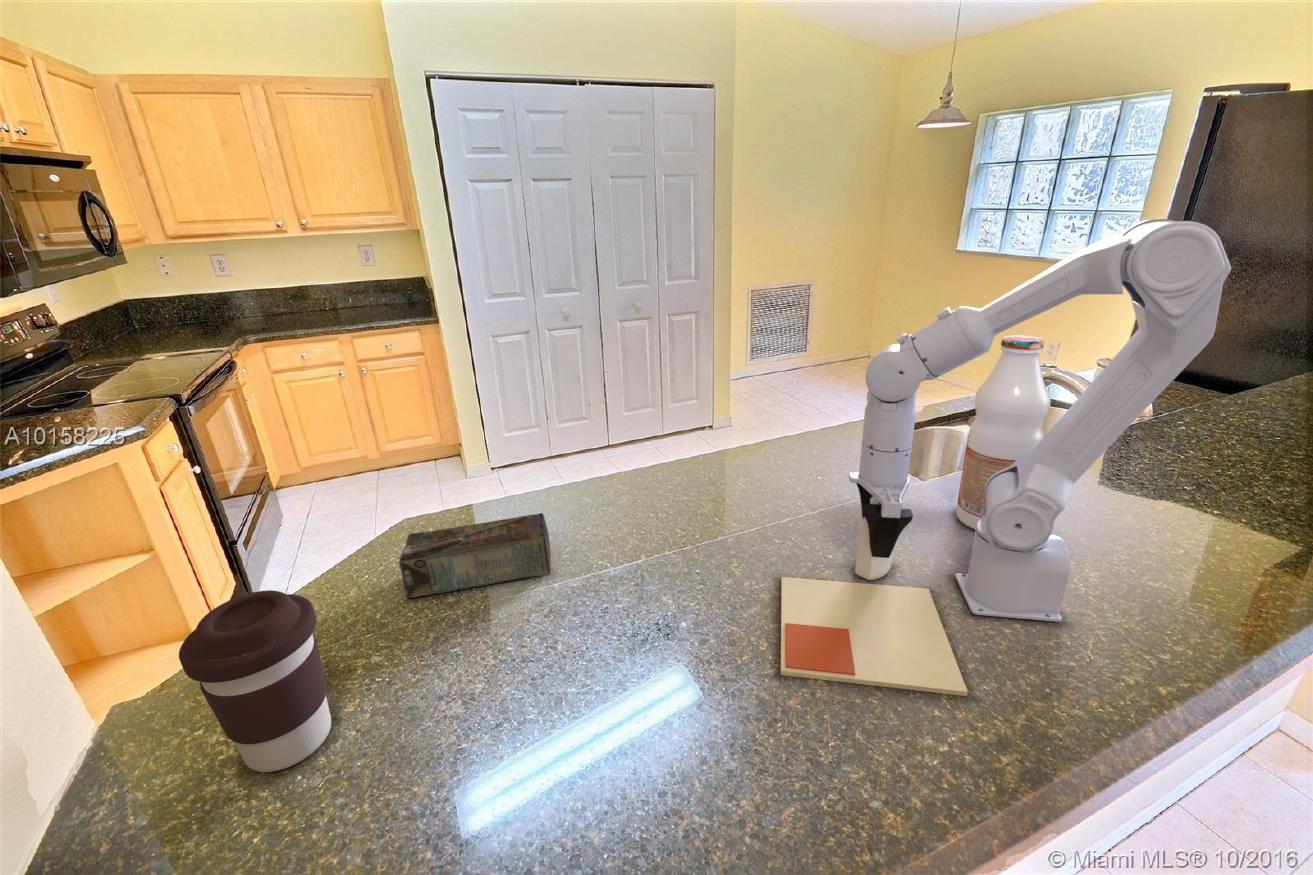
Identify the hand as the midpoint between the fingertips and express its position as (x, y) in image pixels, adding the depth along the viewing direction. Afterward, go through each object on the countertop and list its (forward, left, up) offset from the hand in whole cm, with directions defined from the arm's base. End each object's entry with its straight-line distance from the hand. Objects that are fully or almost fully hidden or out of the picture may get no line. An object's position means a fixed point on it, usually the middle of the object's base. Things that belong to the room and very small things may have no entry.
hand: (875, 540), depth 76 cm
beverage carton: (+53, +8, -5) cm, 54 cm away
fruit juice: (-19, -16, -5) cm, 25 cm away
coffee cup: (+58, +37, -5) cm, 69 cm away
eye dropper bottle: (0, 0, -5) cm, 5 cm away
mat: (+3, +13, -5) cm, 14 cm away
